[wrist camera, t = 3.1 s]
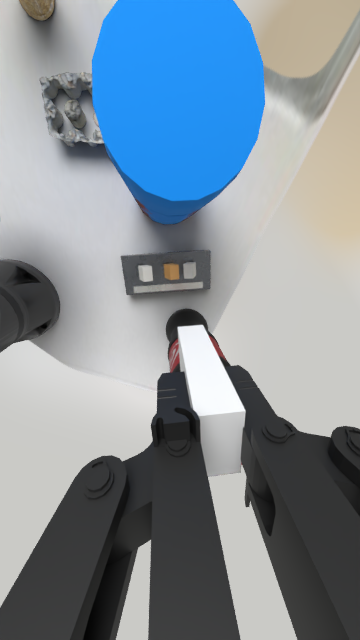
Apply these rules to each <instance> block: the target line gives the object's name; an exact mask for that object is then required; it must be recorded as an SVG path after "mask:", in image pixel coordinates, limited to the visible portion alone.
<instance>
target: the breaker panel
mask: <svg viewBox="0 0 360 640" xmlns="http://www.w3.org/2000/svg"><path fill="white" fill-rule="evenodd" d="M121 261H122V267H123V274H124V280H125V287H126V294H127V295H133V294H147V293H160V292H173V291H187V290H200V289H210V251H209V250H200V251H184V252H168V253H151V254H135V255H123V256H121ZM187 262H196V276H195V277H194V278H193V279H184V268H183V264H185V263H187ZM170 263H173V264H178V265H179V279H175V280H169V279H167V278H165V274H164V264H170ZM141 265H149V266H152V274H153V281H148V282H143V281H141V280H140V278H139V270H138V266H141Z"/></svg>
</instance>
